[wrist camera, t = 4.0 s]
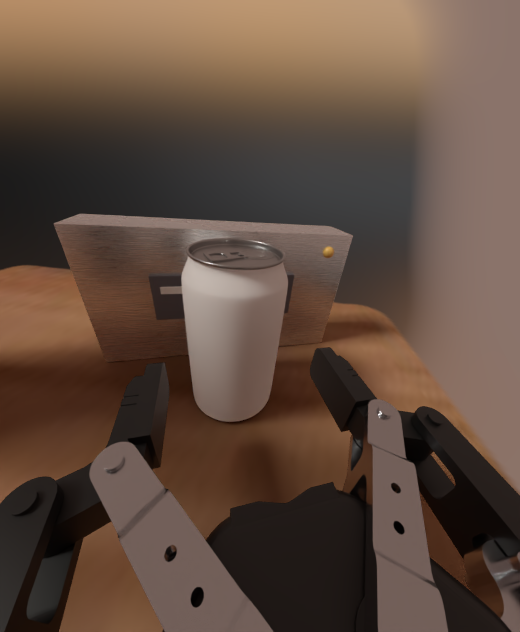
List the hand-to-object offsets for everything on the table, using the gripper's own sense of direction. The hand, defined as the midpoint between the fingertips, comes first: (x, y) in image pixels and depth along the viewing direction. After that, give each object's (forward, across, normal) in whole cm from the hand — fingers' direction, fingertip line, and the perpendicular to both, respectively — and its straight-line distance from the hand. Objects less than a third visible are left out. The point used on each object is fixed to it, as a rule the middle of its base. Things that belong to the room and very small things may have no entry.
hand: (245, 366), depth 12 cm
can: (+4, 0, +7) cm, 8 cm away
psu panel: (+11, 0, +7) cm, 13 cm away
